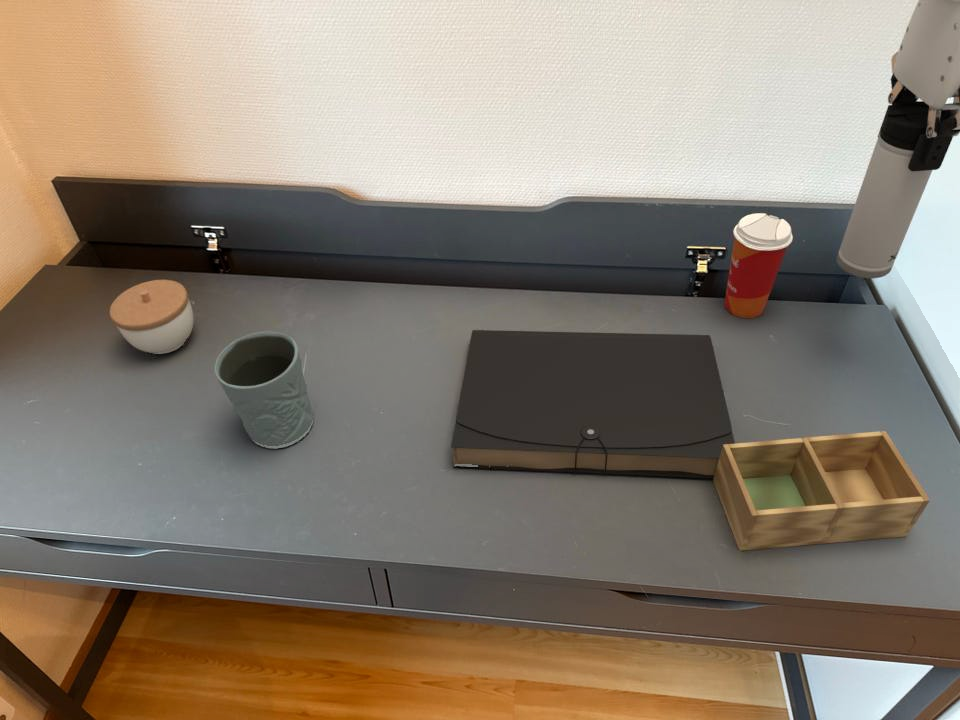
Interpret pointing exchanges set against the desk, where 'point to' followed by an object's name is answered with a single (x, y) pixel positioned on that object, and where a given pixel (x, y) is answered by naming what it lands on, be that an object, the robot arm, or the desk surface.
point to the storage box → (817, 490)
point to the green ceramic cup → (266, 386)
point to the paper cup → (755, 262)
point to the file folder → (592, 404)
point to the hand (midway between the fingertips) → (907, 152)
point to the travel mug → (887, 195)
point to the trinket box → (154, 315)
